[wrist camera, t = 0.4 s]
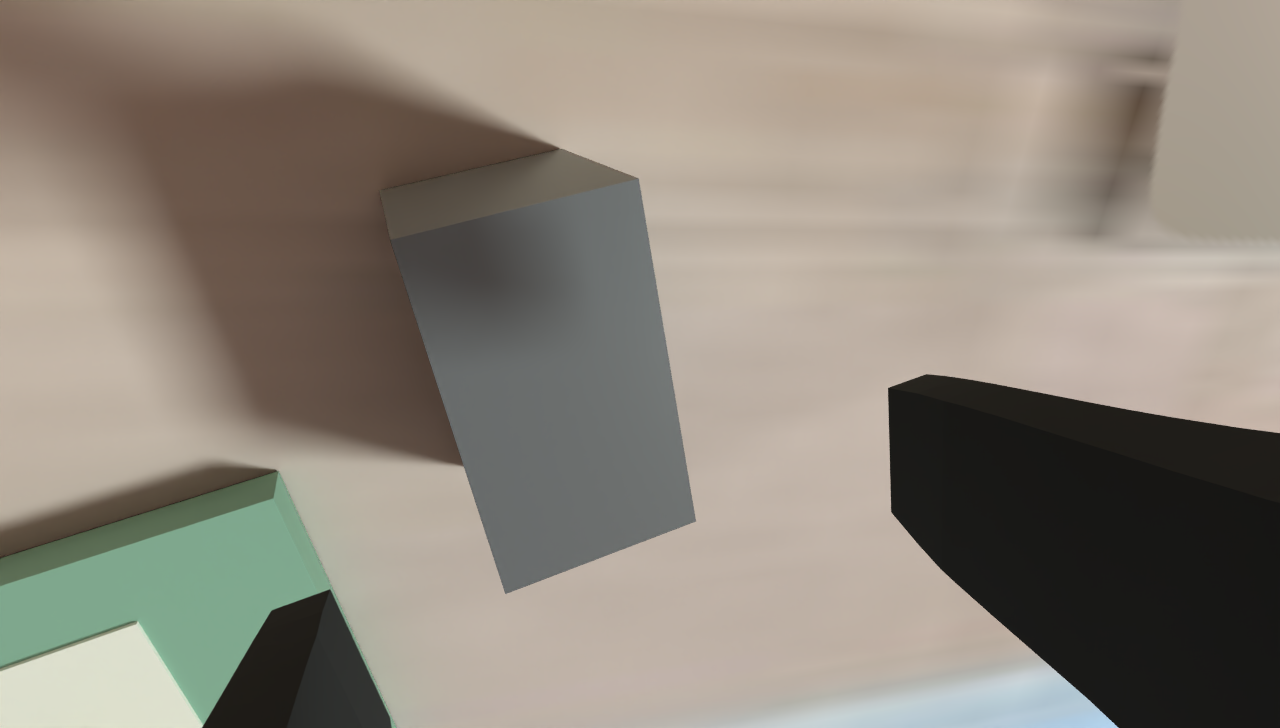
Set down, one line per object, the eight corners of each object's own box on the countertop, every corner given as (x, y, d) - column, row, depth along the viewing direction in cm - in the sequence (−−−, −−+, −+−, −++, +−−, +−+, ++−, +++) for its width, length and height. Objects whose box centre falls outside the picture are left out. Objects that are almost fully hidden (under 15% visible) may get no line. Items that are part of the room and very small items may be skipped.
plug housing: (618, 418, 19) (695, 521, 15) (468, 467, 18) (505, 593, 14) (561, 148, 16) (638, 178, 12) (378, 190, 15) (389, 239, 11)
